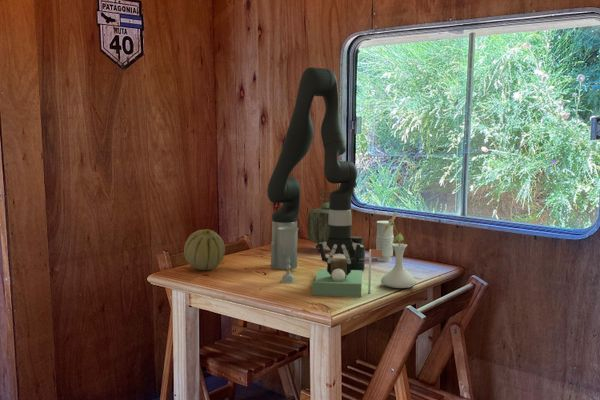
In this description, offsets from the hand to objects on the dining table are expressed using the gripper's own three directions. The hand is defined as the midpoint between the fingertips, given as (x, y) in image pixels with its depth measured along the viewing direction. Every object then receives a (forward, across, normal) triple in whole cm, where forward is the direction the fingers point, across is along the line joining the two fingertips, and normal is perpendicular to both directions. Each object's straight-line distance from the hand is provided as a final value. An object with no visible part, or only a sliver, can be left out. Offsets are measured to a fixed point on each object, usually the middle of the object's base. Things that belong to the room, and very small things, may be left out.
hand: (339, 274), depth 199 cm
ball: (-1, 0, -5) cm, 5 cm away
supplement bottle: (+4, +5, +23) cm, 24 cm away
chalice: (+4, -17, +3) cm, 18 cm away
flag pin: (+4, +11, -8) cm, 15 cm away
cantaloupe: (+4, -49, +15) cm, 51 cm away
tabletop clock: (+4, -8, +54) cm, 55 cm away
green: (+4, 0, 0) cm, 4 cm away
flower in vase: (+4, +19, +1) cm, 19 cm away
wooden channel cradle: (0, 0, 0) cm, 0 cm away
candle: (+4, +16, +41) cm, 44 cm away
